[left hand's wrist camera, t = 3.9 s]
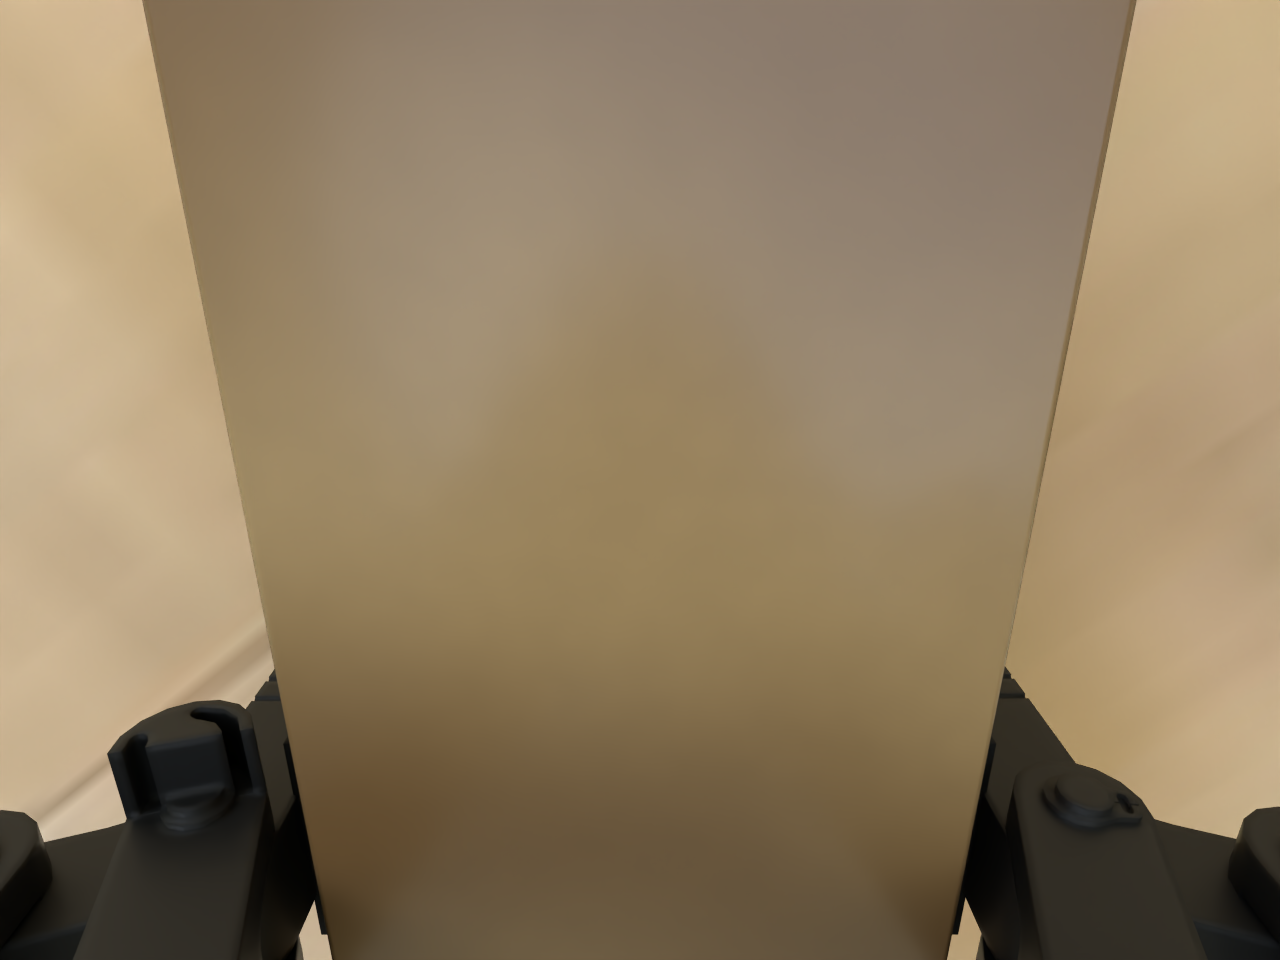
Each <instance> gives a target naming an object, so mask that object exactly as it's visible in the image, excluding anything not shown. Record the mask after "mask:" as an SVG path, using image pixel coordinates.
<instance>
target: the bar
mask: <svg viewBox="0 0 1280 960" xmlns="http://www.w3.org/2000/svg"><path fill="white" fill-rule="evenodd" d="M142 1H143V6H144V11H145V16H146V21H147V26H148V31H149V36H150V41H151V46H152V51H153V56H154V62H155V67H156V72H157V77H158V82H159V87H160V92H161V97H162V102H163V107H164V112H165V117H166V122H167V127H168V132H169V137H170V142H171V147H172V152H173V157H174V162H175V168H176V173H177V178H178V183H179V188H180V193H181V198H182V203H183V208H184V213H185V218H186V223H187V228H188V233H189V238H190V243H191V248H192V253H193V258H194V263H195V268H196V274H197V279H198V284H199V289H200V294H201V299H202V304H203V309H204V314H205V319H206V324H207V329H208V334H209V339H210V344H211V349H212V354H213V359H214V364H215V369H216V374H217V380H218V385H219V390H220V395H221V400H222V405H223V410H224V415H225V420H226V425H227V430H228V435H229V440H230V445H231V450H232V455H233V460H234V465H235V470H236V475H237V480H238V486H239V491H240V496H241V501H242V506H243V511H244V516H245V521H246V526H247V531H248V536H249V541H250V546H251V551H252V556H253V561H254V566H255V571H256V576H257V581H258V586H259V592H260V597H261V602H262V607H263V612H264V617H265V622H266V627H267V632H268V637H269V642H270V647H271V652H272V657H273V662H274V667H275V672H276V677H277V682H278V687H279V692H280V698H281V703H282V708H283V713H284V718H285V723H286V728H287V733H288V738H289V743H290V748H291V753H292V758H293V763H294V768H295V773H296V778H297V783H298V788H299V793H300V798H301V804H302V809H303V814H304V819H305V824H306V829H307V834H308V839H309V844H310V849H311V854H312V859H313V864H314V869H315V874H316V879H317V884H318V889H319V894H320V899H321V904H322V910H323V915H324V920H325V925H326V930H327V935H328V940H329V945H330V950H331V955H332V960H947V956H948V951H949V946H950V941H951V936H952V931H953V926H954V921H955V916H956V911H957V906H958V901H959V896H960V891H961V885H962V880H963V875H964V870H965V865H966V860H967V855H968V850H969V845H970V840H971V835H972V830H973V825H974V820H975V815H976V810H977V805H978V799H979V794H980V789H981V784H982V779H983V774H984V769H985V764H986V759H987V754H988V749H989V744H990V739H991V734H992V729H993V724H994V719H995V713H996V708H997V703H998V698H999V693H1000V688H1001V683H1002V678H1003V673H1004V668H1005V663H1006V658H1007V653H1008V648H1009V643H1010V638H1011V633H1012V627H1013V622H1014V617H1015V612H1016V607H1017V602H1018V597H1019V592H1020V587H1021V582H1022V577H1023V572H1024V567H1025V562H1026V557H1027V552H1028V547H1029V541H1030V536H1031V531H1032V526H1033V521H1034V516H1035V511H1036V506H1037V501H1038V496H1039V491H1040V486H1041V481H1042V476H1043V471H1044V466H1045V460H1046V455H1047V450H1048V445H1049V440H1050V435H1051V430H1052V425H1053V420H1054V415H1055V410H1056V405H1057V400H1058V395H1059V390H1060V385H1061V380H1062V374H1063V369H1064V364H1065V359H1066V354H1067V349H1068V344H1069V339H1070V334H1071V329H1072V324H1073V319H1074V314H1075V309H1076V304H1077V299H1078V294H1079V288H1080V283H1081V278H1082V273H1083V268H1084V263H1085V258H1086V253H1087V248H1088V243H1089V238H1090V233H1091V228H1092V223H1093V218H1094V213H1095V208H1096V202H1097V197H1098V192H1099V187H1100V182H1101V177H1102V172H1103V167H1104V162H1105V157H1106V152H1107V147H1108V142H1109V137H1110V132H1111V127H1112V122H1113V116H1114V111H1115V106H1116V101H1117V96H1118V91H1119V86H1120V81H1121V76H1122V71H1123V66H1124V61H1125V56H1126V51H1127V46H1128V41H1129V36H1130V30H1131V25H1132V20H1133V15H1134V10H1135V5H1136V0H142Z"/></svg>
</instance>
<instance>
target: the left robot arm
mask: <svg viewBox="0 0 1280 960" xmlns="http://www.w3.org/2000/svg"><path fill="white" fill-rule="evenodd" d="M107 755H108V758H109V761H110V765H111V768H112V771H113V775H114V778H115V781H116V785H117V788H118V791H119V794H120V798H121V801H122V804H123V808H124V811H125V814H126V818H127V820H126V822H125V823H122V824H119V825H115V826H112V827H109V828H105V829H100V830H96V831H92V832H87V833H83V834H79V835H74V836H70V837H66V838H61V839H57V840H52V841H48V842H44V841H43V839H42V836H41V833H40V830H39V827H38V825H37V822H36V821H34V820H33V819H32V818H30V817H29V816H28V815H26V814H25V813H22V812H14V811H5V810H0V960H304V959H303V953H302V947H301V943H300V938H299V934H300V931H301V929H302V927H303V925H304V922H305V920H306V918H307V916H308V913H309V911H310V909H311V906H312V904H313V902H314V900H315V905H316V910H317V915H318V920H319V925H320V930H321V935H323V934H327V930H326V925H325V920H324V915H323V910H322V904H321V899H320V894H319V889H318V884H317V879H316V874H315V869H314V864H313V859H312V854H311V849H310V844H309V839H308V834H307V829H306V824H305V819H304V814H303V809H302V804H301V798H300V793H299V788H298V783H297V778H296V773H295V768H294V763H293V758H292V753H291V748H290V743H289V738H288V733H287V728H286V723H285V718H284V713H283V708H282V703H281V698H280V692H279V687H278V682H277V677H276V672H275V669H274V671H273V672H272V674H271V675H270V676H269V682H265V683H264V685H263V686H262V687H261V689H260V690H259V692H258V693H257V694H256V696H255V701H251V703H250V704H249V705H248V707H247V708H246V709H244V708H243V707H242V706H241V705H240V704H235V703H231V702H226V701H222V700H213V701H196V702H191V703H188V704H184V705H180V706H176V707H172V708H169V709H166V710H164V711H162V712H160V713H157V714H155V715H153V716H151V717H149V718H147V719H144V720H142V721H141V722H139V723H138V724H137V725H135V726H134V727H133V728H131V729H130V730H128V731H127V732H126V733H124V734H123V735H122V736H120V737H119V739H118V740H117V741H116V743H115V744H114V745H113V747H112V748H111V749H110V751H109V752H108V753H107ZM965 897H966V899H967V901H968V904H969V906H970V908H971V910H972V913H973V915H974V917H975V919H976V922H977V924H978V926H979V928H980V931H981V938H980V943H979V947H978V952H977V957H976V960H1280V807H1272V808H1263V809H1256V810H1255V811H1253V812H1252V813H1251V814H1250V815H1248V816H1247V817H1246V818H1244V820H1243V823H1242V825H1241V828H1240V831H1239V834H1238V837H1237V839H1233V838H1229V837H1225V836H1220V835H1216V834H1211V833H1207V832H1203V831H1198V830H1194V829H1190V828H1185V827H1181V826H1176V825H1172V824H1169V823H1166V822H1162V821H1159V820H1155V819H1154V818H1153V816H1152V815H1151V813H1150V812H1149V810H1148V809H1147V807H1146V806H1145V804H1144V803H1143V801H1142V800H1141V799H1140V798H1139V797H1138V796H1137V795H1136V794H1134V793H1133V792H1132V791H1131V790H1130V789H1128V788H1127V787H1126V786H1125V785H1124V784H1122V783H1121V782H1119V781H1117V780H1115V779H1113V778H1112V777H1110V776H1108V775H1106V774H1104V773H1102V772H1100V771H1098V770H1096V769H1093V768H1089V767H1086V766H1083V765H1079V764H1076V763H1075V762H1074V760H1073V759H1072V758H1071V756H1070V755H1069V753H1068V752H1067V751H1066V749H1065V748H1064V747H1063V745H1062V744H1061V742H1060V741H1059V740H1058V738H1057V737H1056V736H1055V734H1054V733H1053V731H1052V730H1051V729H1050V727H1049V726H1048V725H1047V723H1046V722H1045V720H1044V719H1043V718H1042V716H1041V715H1040V714H1039V712H1038V711H1037V710H1036V708H1035V707H1034V705H1033V704H1032V703H1031V701H1030V700H1029V699H1026V698H1025V693H1024V692H1023V690H1022V689H1021V688H1020V686H1019V685H1018V683H1017V682H1016V681H1015V679H1011V674H1010V672H1009V671H1008V670H1007V668H1006V667H1005V668H1004V673H1003V678H1002V683H1001V688H1000V693H999V698H998V703H997V708H996V713H995V719H994V724H993V729H992V734H991V739H990V744H989V749H988V754H987V759H986V764H985V769H984V774H983V779H982V784H981V789H980V794H979V799H978V805H977V810H976V815H975V820H974V825H973V830H972V835H971V840H970V845H969V850H968V855H967V860H966V865H965V870H964V875H963V880H962V885H961V891H960V896H959V901H958V906H957V911H956V916H955V921H954V926H953V931H952V934H958V932H959V927H960V922H961V917H962V912H963V907H964V902H965Z"/></svg>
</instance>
